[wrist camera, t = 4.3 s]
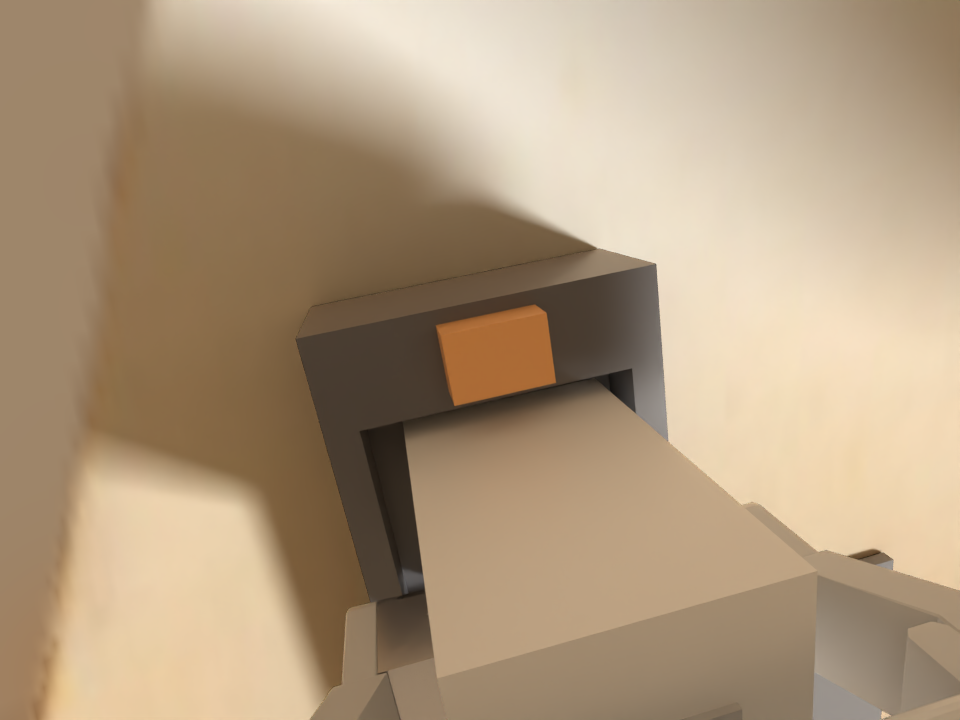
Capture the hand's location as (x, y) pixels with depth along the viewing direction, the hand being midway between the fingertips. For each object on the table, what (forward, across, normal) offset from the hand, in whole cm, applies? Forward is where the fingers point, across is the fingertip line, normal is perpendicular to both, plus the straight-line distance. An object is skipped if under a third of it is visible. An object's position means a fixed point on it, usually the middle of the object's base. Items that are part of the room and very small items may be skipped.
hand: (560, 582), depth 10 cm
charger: (+4, 0, 0) cm, 4 cm away
